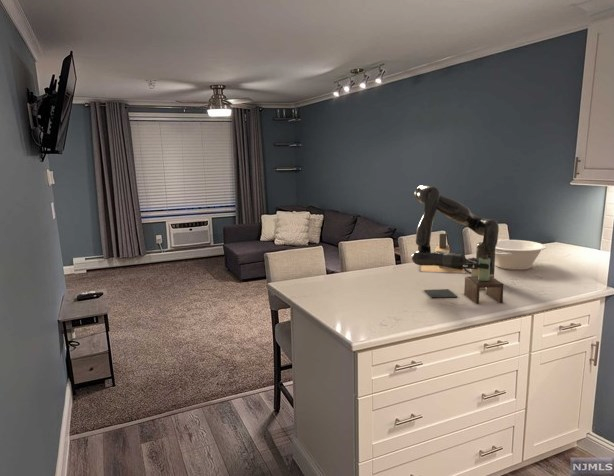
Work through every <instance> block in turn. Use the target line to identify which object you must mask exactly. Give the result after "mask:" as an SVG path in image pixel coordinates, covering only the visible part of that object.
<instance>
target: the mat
mask: <svg viewBox="0 0 614 476" xmlns="http://www.w3.org/2000/svg"><path fill="white" fill-rule="evenodd" d="M424 292H425V293H426V294H427V296H429V297H430V298H431V299H453V298H455V299H457V298H458V296H457V295H456V294H455V293H454V292H453V291H451V290H450V289H448V288H445V289H444V288H443V289H441V288H440V289H424Z"/></svg>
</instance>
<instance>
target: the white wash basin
mask: <svg viewBox="0 0 614 476" xmlns="http://www.w3.org/2000/svg"><path fill="white" fill-rule="evenodd" d="M545 249H547V246H546V245H545V244H543V243H541V242H537V241H531V240H523V239H522V240H521V239H498V241H497V245H496V248H495V267H498V268H500V269H503V270H508V271H509V270H510V271H525V270H529V269H531V268H532V266H533V265H534V263H535V261H536V259H537V258H538V257H539V255H540V253H541V251H543V250H545Z"/></svg>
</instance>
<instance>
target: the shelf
mask: <svg viewBox="0 0 614 476" xmlns="http://www.w3.org/2000/svg"><path fill="white" fill-rule="evenodd" d="M504 285H505V284H504V282H501V281H499V280H498V279H496V278H495V277H494V278H493V277H491V276H490V277H489V281H481V280H478V276H471V275H469V276H464V290H463V291H464V293H463V295H464V296H465V297H467V298H468V299H469V300H470V301H472V302H473V303H474V304H476V305H479V304H480V291H481V290H480V288H485V289H486V295H487V296H488V297H490V298H491V299H493V300H495V301H496V302H498V303H499V304H504V303H503V301H504Z"/></svg>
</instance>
